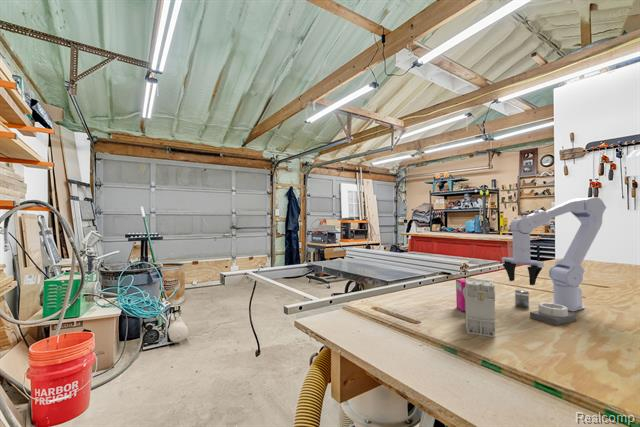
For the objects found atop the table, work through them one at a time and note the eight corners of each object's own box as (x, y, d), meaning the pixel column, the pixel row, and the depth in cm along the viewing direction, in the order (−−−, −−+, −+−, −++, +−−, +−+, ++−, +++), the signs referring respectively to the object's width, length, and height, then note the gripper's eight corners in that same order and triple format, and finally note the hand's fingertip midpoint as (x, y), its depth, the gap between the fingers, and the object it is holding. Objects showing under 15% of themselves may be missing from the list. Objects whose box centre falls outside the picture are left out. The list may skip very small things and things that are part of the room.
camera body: (549, 312, 105) (549, 300, 105) (576, 320, 98) (576, 306, 98) (530, 317, 100) (529, 304, 100) (556, 325, 93) (556, 311, 93)
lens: (519, 304, 116) (519, 289, 116) (531, 307, 111) (531, 292, 112) (512, 305, 114) (512, 290, 114) (524, 308, 110) (524, 293, 110)
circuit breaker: (489, 321, 97) (489, 277, 97) (495, 337, 84) (495, 286, 84) (464, 318, 100) (464, 275, 100) (466, 333, 87) (466, 283, 87)
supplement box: (471, 308, 111) (471, 278, 111) (478, 313, 105) (478, 282, 105) (455, 307, 111) (455, 278, 111) (461, 312, 105) (461, 281, 106)
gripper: (496, 247, 118) (497, 280, 118) (535, 251, 105) (536, 287, 104) (507, 246, 121) (508, 278, 121) (546, 250, 108) (547, 285, 107)
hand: (521, 282), depth 113 cm, fingers open, 7 cm apart
